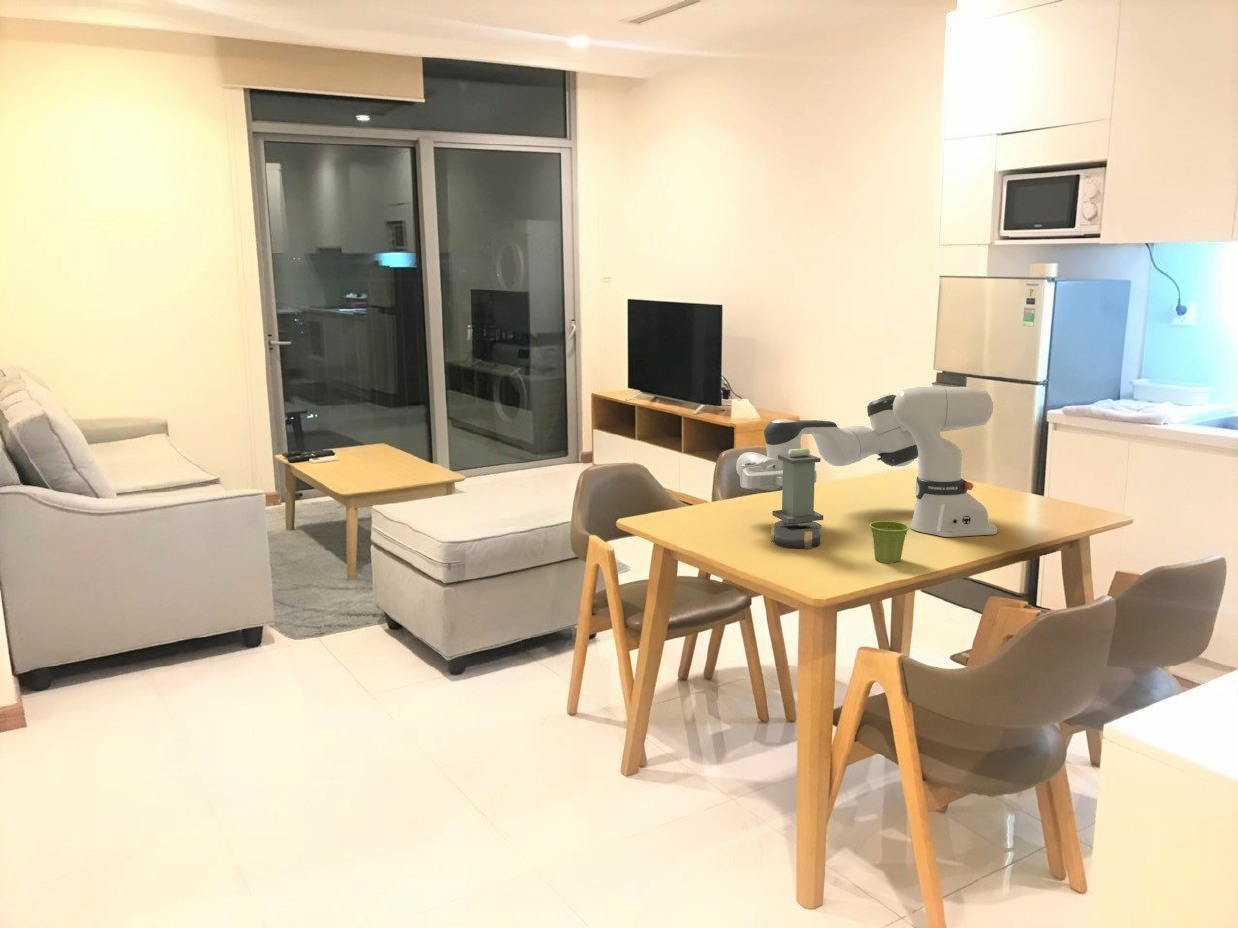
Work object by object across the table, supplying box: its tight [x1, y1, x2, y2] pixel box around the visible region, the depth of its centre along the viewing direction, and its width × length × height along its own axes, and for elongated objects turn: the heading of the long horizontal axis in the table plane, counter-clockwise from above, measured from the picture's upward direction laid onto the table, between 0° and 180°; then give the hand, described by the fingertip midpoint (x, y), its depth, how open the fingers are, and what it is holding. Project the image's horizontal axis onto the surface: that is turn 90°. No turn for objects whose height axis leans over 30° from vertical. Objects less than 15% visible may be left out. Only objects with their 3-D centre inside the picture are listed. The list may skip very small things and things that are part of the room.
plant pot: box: [869, 520, 910, 564], centre depth 242 cm, size 9×9×9 cm
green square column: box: [771, 447, 824, 525], centre depth 257 cm, size 10×9×20 cm
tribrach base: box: [770, 520, 822, 550], centre depth 259 cm, size 12×13×5 cm
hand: (791, 483), depth 259 cm, fingers closed, pressing on green square column
